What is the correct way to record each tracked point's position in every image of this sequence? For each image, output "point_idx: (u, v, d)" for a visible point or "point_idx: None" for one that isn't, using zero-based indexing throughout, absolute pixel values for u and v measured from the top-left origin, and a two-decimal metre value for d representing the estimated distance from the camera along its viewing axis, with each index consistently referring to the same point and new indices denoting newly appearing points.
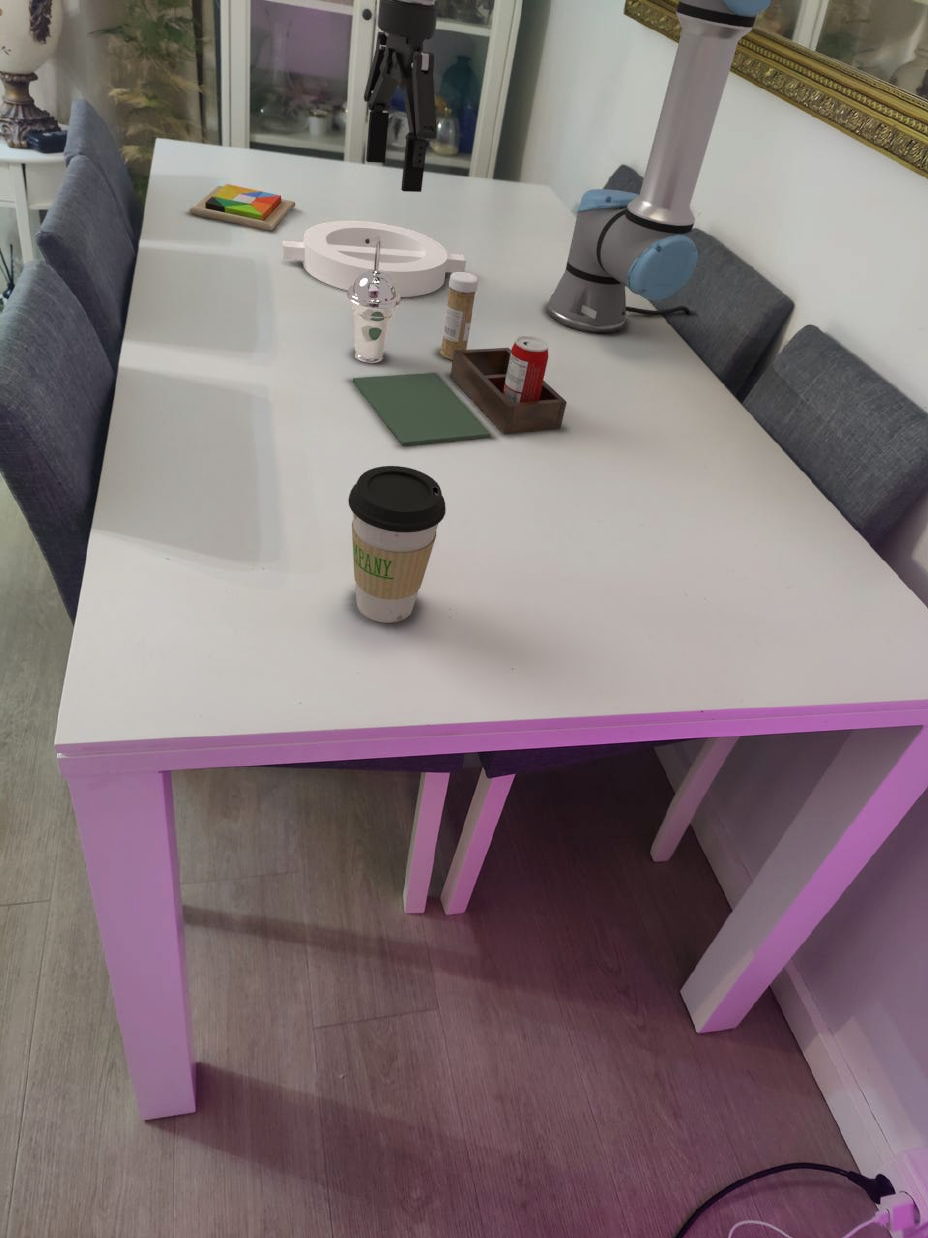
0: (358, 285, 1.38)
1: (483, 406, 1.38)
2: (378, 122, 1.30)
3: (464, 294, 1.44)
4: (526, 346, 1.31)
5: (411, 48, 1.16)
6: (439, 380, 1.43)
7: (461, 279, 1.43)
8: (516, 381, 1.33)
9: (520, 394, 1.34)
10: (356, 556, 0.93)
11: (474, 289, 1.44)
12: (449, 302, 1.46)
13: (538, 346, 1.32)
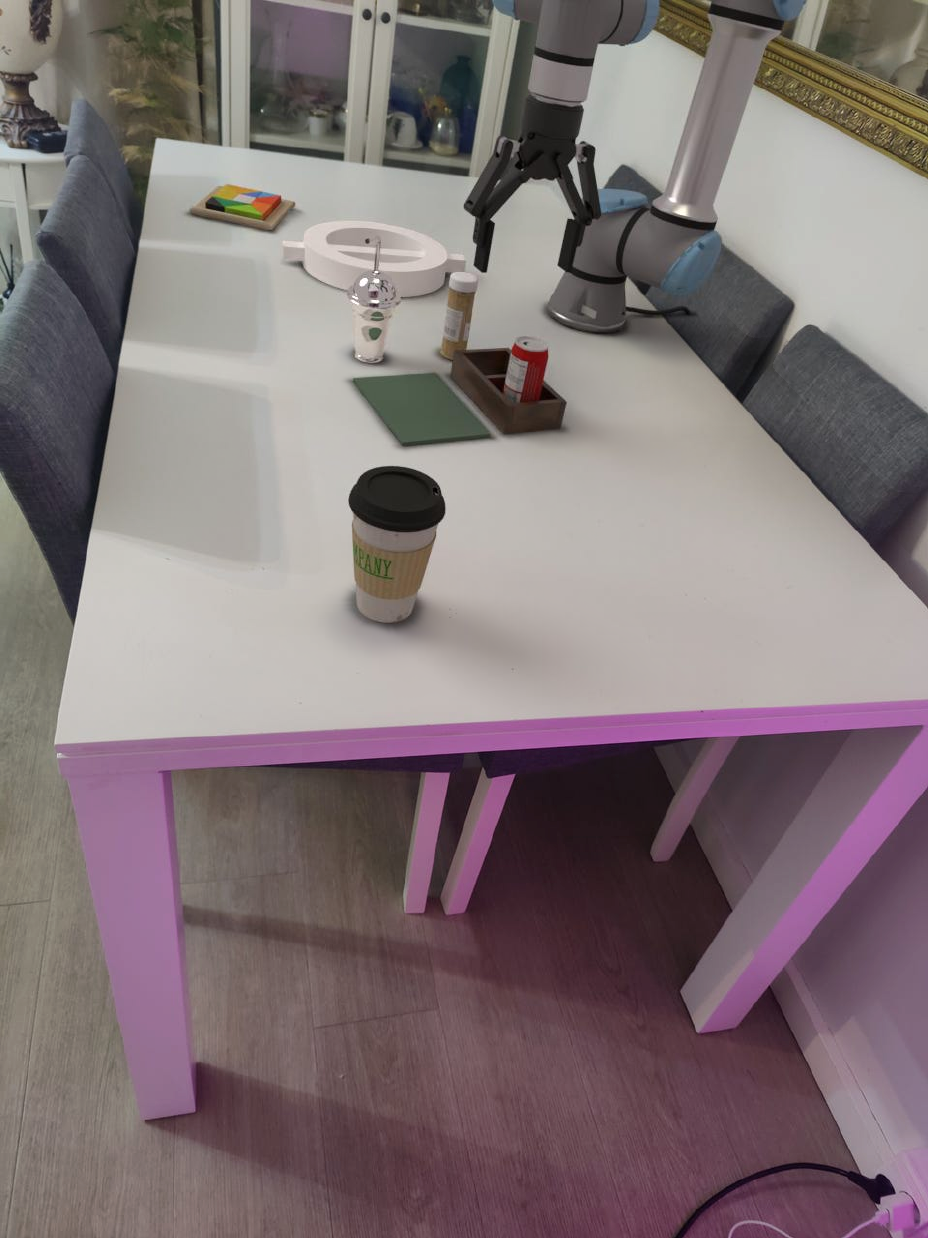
0: (358, 285, 1.38)
1: (483, 406, 1.38)
2: (569, 230, 1.26)
3: (464, 294, 1.44)
4: (526, 346, 1.31)
5: (519, 138, 1.15)
6: (439, 380, 1.43)
7: (461, 279, 1.43)
8: (516, 381, 1.33)
9: (520, 394, 1.34)
10: (356, 556, 0.93)
11: (474, 289, 1.44)
12: (449, 302, 1.46)
13: (538, 346, 1.32)
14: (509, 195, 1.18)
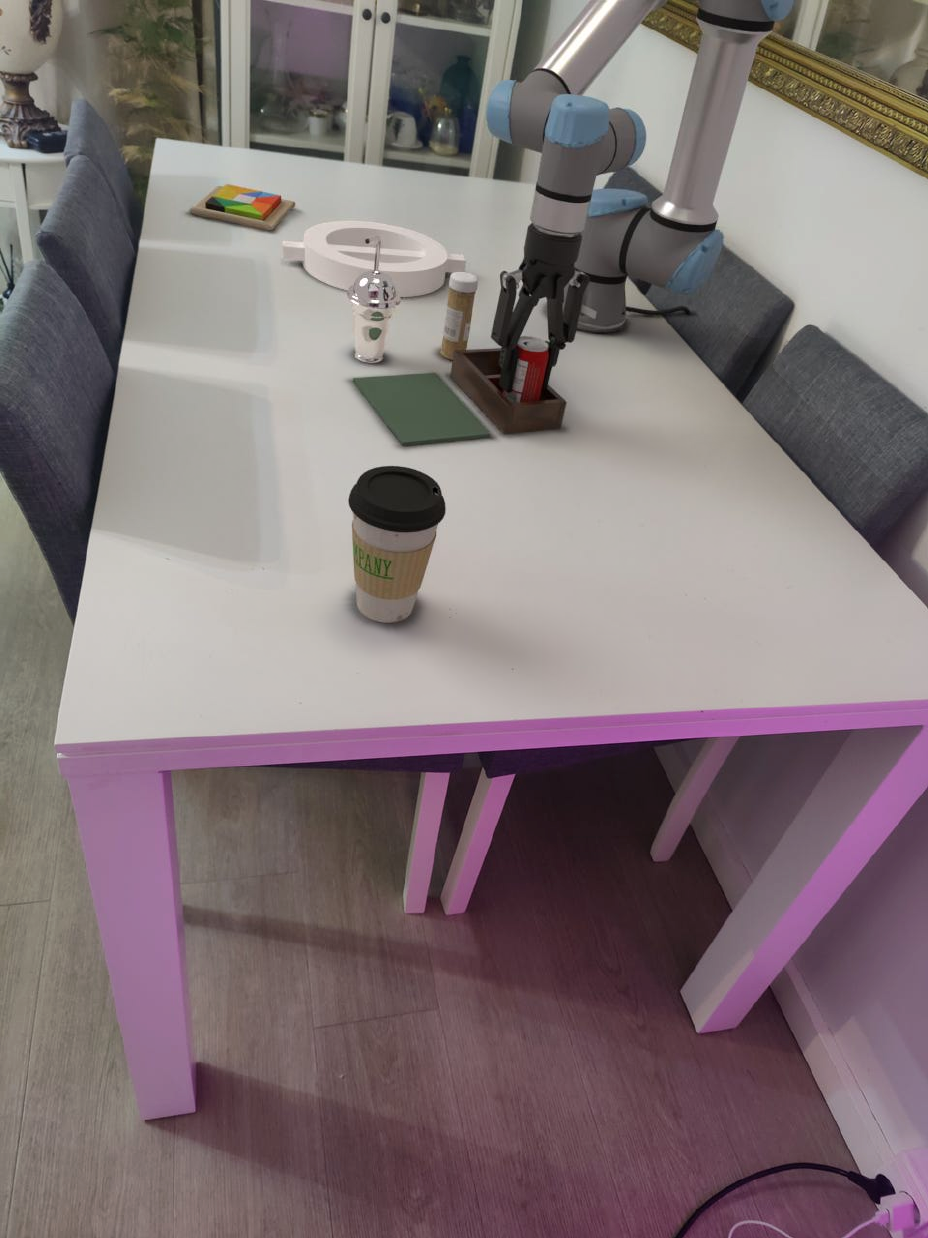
0: (358, 285, 1.38)
1: (483, 406, 1.38)
2: None
3: (464, 294, 1.44)
4: (526, 346, 1.31)
5: None
6: (439, 380, 1.43)
7: (461, 279, 1.43)
8: (516, 381, 1.33)
9: (521, 394, 1.34)
10: (356, 556, 0.93)
11: (474, 289, 1.44)
12: (449, 302, 1.46)
13: (538, 346, 1.32)
14: (525, 321, 1.28)
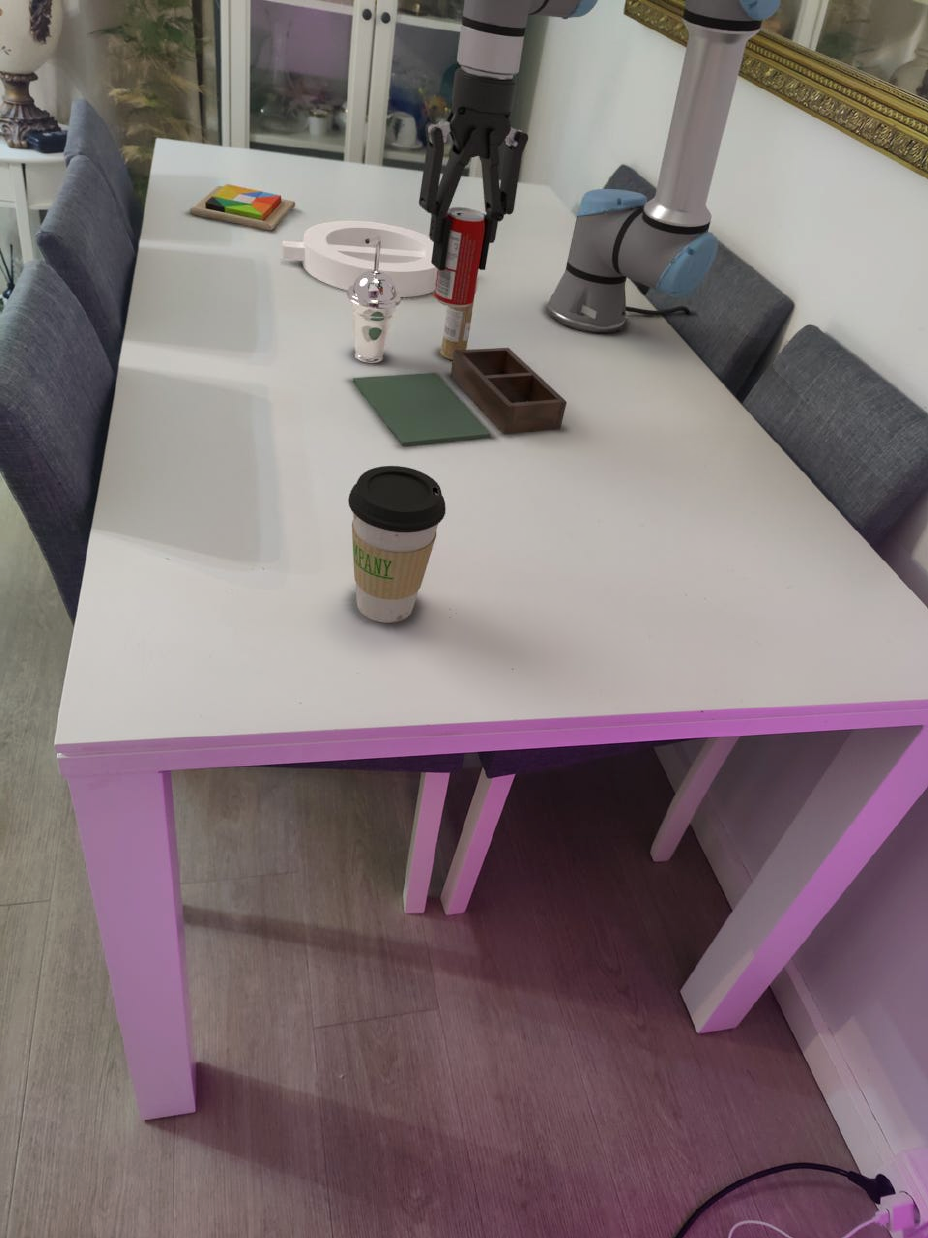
0: (358, 285, 1.38)
1: (483, 406, 1.38)
2: None
3: None
4: (459, 216, 1.18)
5: None
6: (439, 380, 1.43)
7: None
8: (449, 256, 1.20)
9: (455, 272, 1.21)
10: (356, 556, 0.93)
11: None
12: None
13: (473, 216, 1.19)
14: (456, 184, 1.14)
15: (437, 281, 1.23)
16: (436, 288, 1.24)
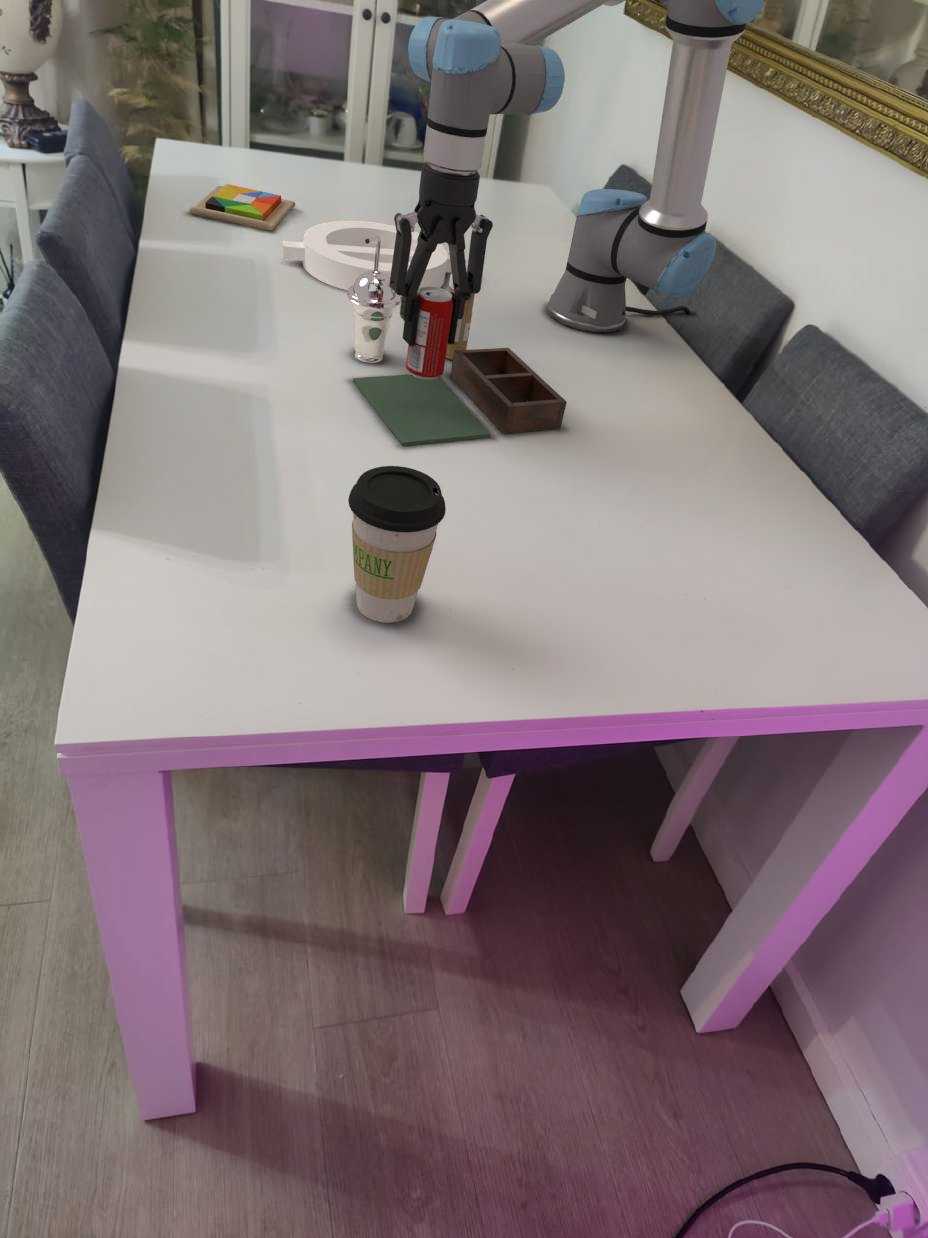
0: (358, 285, 1.38)
1: (483, 406, 1.38)
2: None
3: None
4: (428, 296, 1.24)
5: None
6: (439, 380, 1.43)
7: None
8: (419, 333, 1.26)
9: (424, 348, 1.27)
10: (356, 556, 0.93)
11: None
12: None
13: (441, 296, 1.25)
14: (424, 268, 1.21)
15: (408, 355, 1.30)
16: (407, 361, 1.30)
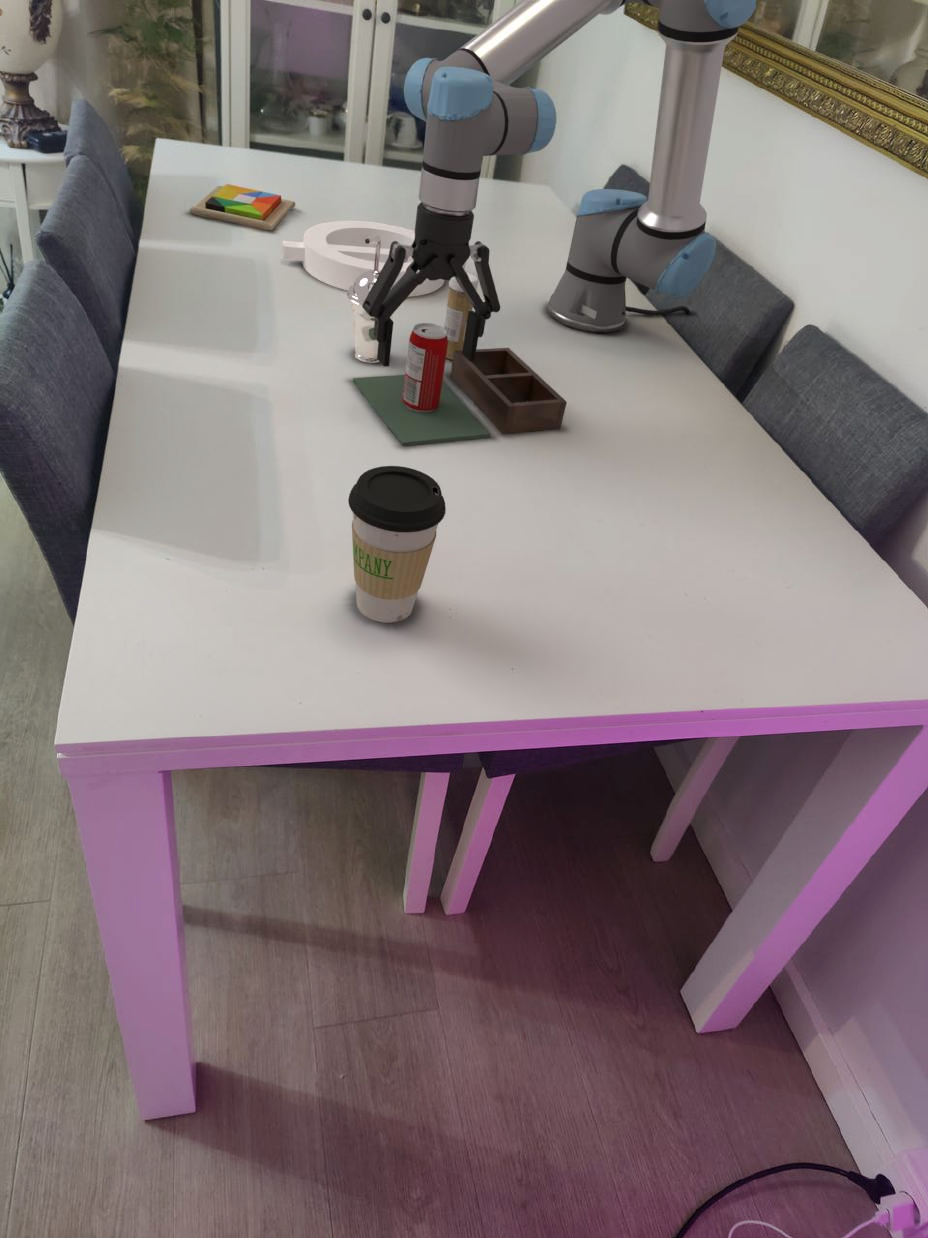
0: (358, 285, 1.38)
1: (483, 406, 1.38)
2: (470, 322, 1.31)
3: (464, 294, 1.44)
4: (423, 333, 1.28)
5: None
6: None
7: None
8: (415, 369, 1.30)
9: (420, 382, 1.30)
10: (356, 556, 0.93)
11: None
12: (449, 302, 1.46)
13: (436, 333, 1.28)
14: (405, 296, 1.22)
15: (404, 389, 1.33)
16: (404, 395, 1.34)
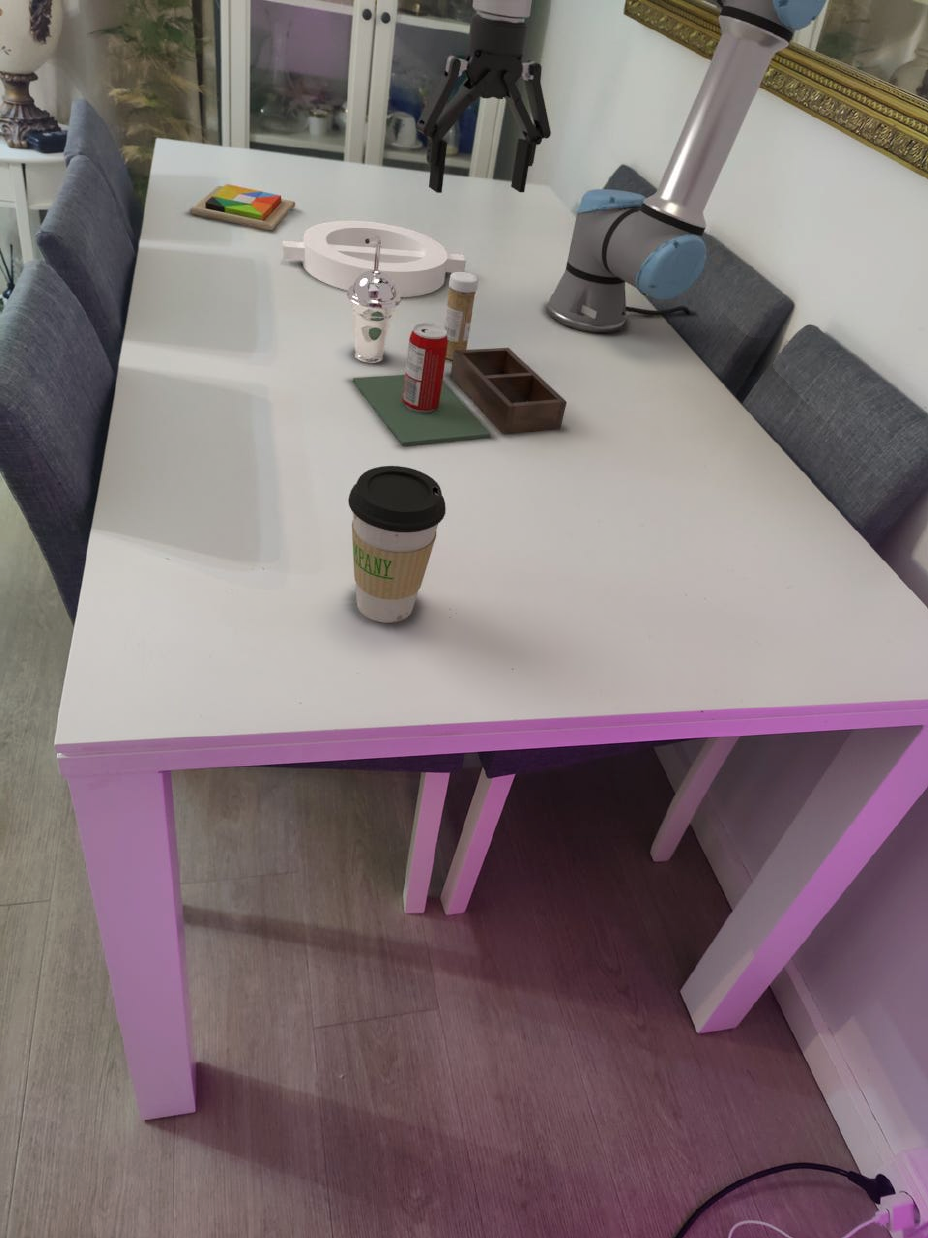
0: (358, 285, 1.38)
1: (483, 406, 1.38)
2: (520, 149, 1.30)
3: (464, 294, 1.44)
4: (423, 333, 1.28)
5: (466, 57, 1.19)
6: None
7: (461, 279, 1.43)
8: (414, 369, 1.30)
9: (420, 382, 1.30)
10: (356, 556, 0.93)
11: (474, 289, 1.44)
12: (449, 302, 1.46)
13: (436, 333, 1.28)
14: (459, 114, 1.22)
15: (404, 389, 1.33)
16: (404, 395, 1.34)
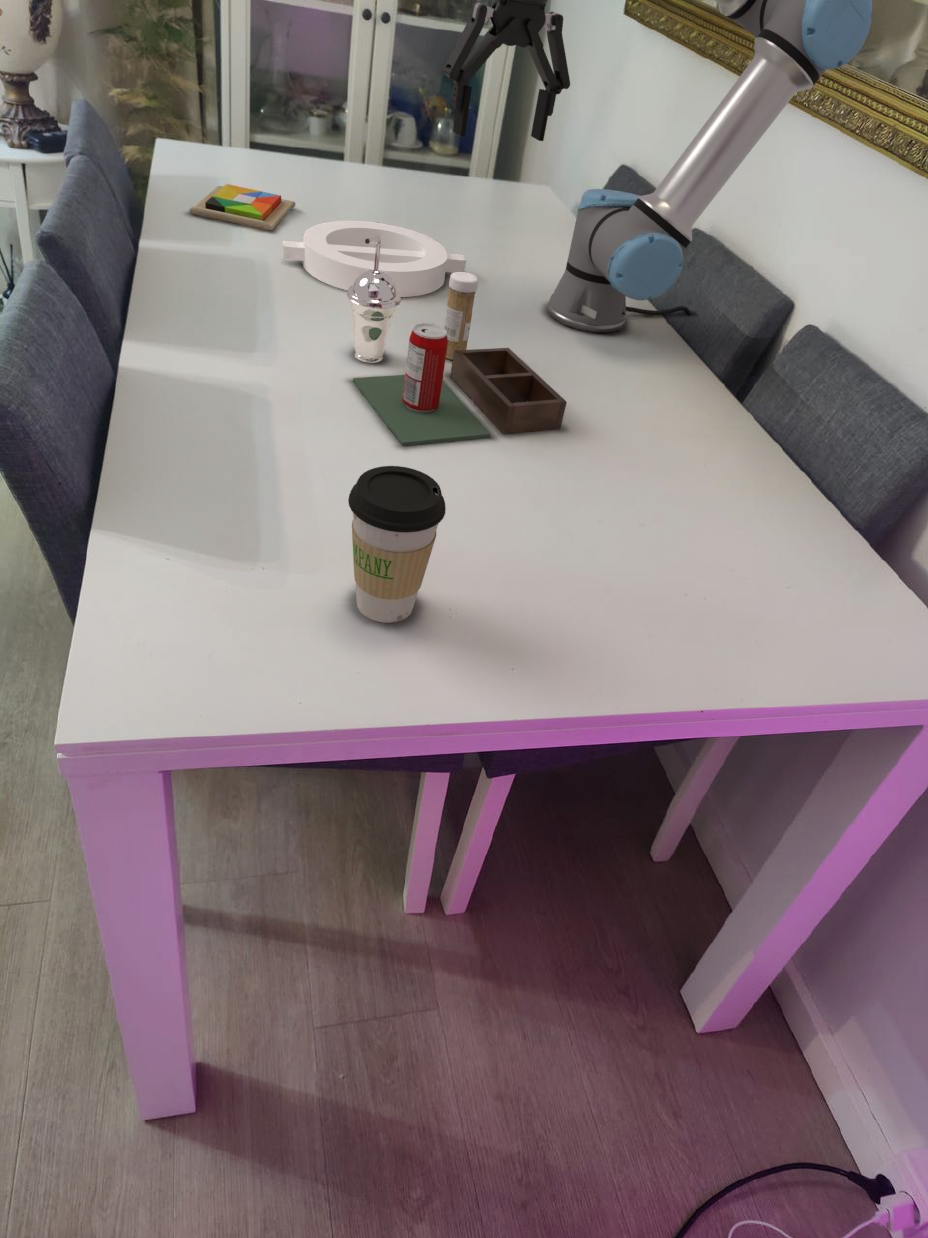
0: (358, 285, 1.38)
1: (483, 406, 1.38)
2: (541, 99, 1.37)
3: (464, 294, 1.44)
4: (423, 333, 1.28)
5: None
6: None
7: (461, 279, 1.43)
8: (414, 369, 1.30)
9: (420, 382, 1.30)
10: (356, 556, 0.93)
11: (474, 289, 1.44)
12: (449, 302, 1.46)
13: (436, 333, 1.28)
14: (484, 60, 1.28)
15: (404, 389, 1.33)
16: (404, 395, 1.34)
